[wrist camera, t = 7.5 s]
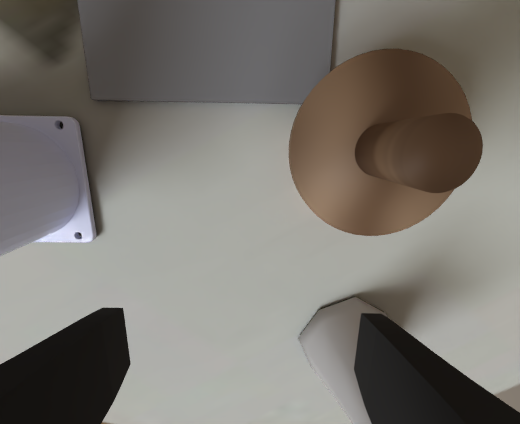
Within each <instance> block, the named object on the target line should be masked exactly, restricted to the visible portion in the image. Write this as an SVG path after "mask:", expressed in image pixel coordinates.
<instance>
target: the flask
mask: <svg viewBox="0 0 520 424" xmlns="http://www.w3.org/2000/svg"><path fill="white" fill-rule="evenodd" d="M361 313H381V314H383V315H384V316H386V317H387V314H386V313H384V312H382V311H380V310H379V309H377V308H375V307H373V306H371V305H369V304H368V303H366V302H364V301H362V300H360V299H358V298H357V297H354V298H351V299H348V300H345V301H343V302H340V303H337V304H334V305H332V306H329V307H326V308H323V309H320V310H318V312H317V313H316V315H315V316H314V317H313V319H312V320H311V321H310V323H309V324H308V325H307V327H306V328H305V329H304V331H303V332H302V333H301V335H300V336H299V338H298V339H299V341H300V343H301V346H302V348H303V350H304V352H305V355H306V357H307V359H308V361H309V363H310V366H311V367H312V369H313V370H314V371H315V373H316V374H317V376H318V377H319V378H320V380H321V381H322V382H323V384H324V385H325V386H326V387H327V389H328V390H329V391H330V393H331V394H332V395H333V397H334V398H335V400H336V401H337V402H338V404H339V405H340V407H341V408H342V410H343V411H344V412H345V414H346V415H347V417H348V418H349V420H350V421H351V423H352V424H372V423H371V421H370V419H369V416H368V413H367V411H366V408H365V406H364V402H363V399H362V396H361V392H360V389H359V386H358V382H357V378H356V375H355V371H354V363H355V356H356V348H357V340H358V333H359V325H360V317H361ZM387 318H388V317H387Z"/></svg>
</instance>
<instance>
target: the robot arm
mask: <svg viewBox="0 0 520 424" xmlns="http://www.w3.org/2000/svg"><path fill="white" fill-rule="evenodd" d="M60 122H62V123H63V125H64V127H63V129H61V128H60V126H59V125H60ZM78 232H80V233H81V234H82V237H80V236H79V235H78ZM95 238H96V228H95V221H94V215H93V208H92V202H91V195H90V189H89V182H88V176H87V169H86V163H85V156H84V150H83V143H82V137H81V130H80V125H79V122H78V121H77V120H76V119H75V118H73V117H67V116H12V115H0V256H2V255H4V254H7V253H9V252H11V251H13V250H16V249H18V248H20V247H22V246H25V245H27V244H29V243H32V242H80V243H88V242H91V241H93V240H94V239H95ZM129 366H130V357H129V349H128V342H127V334H126V327H125V319H124V312H123V308H101V309H99V310H97V311H95V312H93V313H91V314H89V315H88V316H86V317H84V318H82V319H80V320H78V321H77V322H75V323H73V324H71V325H70V326H68V327H66V328H64V329H63V330H61V331H59V332H57V333H56V334H54V335H52V336H50V337H49V338H47V339H45V340H43V341H41V342H40V343H38V344H36V345H34V346H33V347H31V348H29V349H27V350H26V351H24V352H22V353H20V354H19V355H17V356H15V357H13V358H11V359H10V360H8V361H6V362H4V363H2V364H0V424H101V423H102V421H103V419H104V418H105V416H106V414H107V412H108V411H109V409H110V407H111V405H112V403H113V402H114V400H115V397H116V395H117V393H118V391H119V389H120V387H121V385H122V382H123V380H124V378H125V375H126V373H127V371H128V368H129ZM354 371H355V375H356V378H357V382H358V386H359V389H360V392H361V396H362V399H363V402H364V406H365V408H366V411H367V413H368V416H369V419H370V421H371V423H372V424H520V413H519V412H518V411H516V410H515V409H513V408H512V407H510V406H509V405H507V404H506V403H504V402H503V401H501V400H500V399H499V398H497V397H496V396H494V395H493V394H491V393H490V392H488V391H487V390H485V389H484V388H482V387H481V386H480V385H478V384H477V383H475V382H474V381H473V380H471V379H470V378H468V377H467V376H465V375H464V374H463V373H461V372H460V371H459V370H457V369H456V368H454V367H453V366H452V365H450V364H449V363H448V362H446V361H445V360H444V359H442V358H441V357H439V356H438V355H437V354H435V353H434V352H433V351H431V350H430V349H429V348H427V347H426V346H425V345H423V344H422V343H421V342H420V341H418V340H417V339H416V338H414V337H413V336H412V335H410V334H409V333H408V332H406V331H405V330H404V329H402V328H401V327H400V326H398V325H397V324H396V323H394V322H393V321H392V320H390V319H389V318H387V317H386V316H384V315H383V314H381V313H361V317H360V325H359V333H358V340H357V348H356V356H355V363H354Z"/></svg>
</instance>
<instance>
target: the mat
mask: <svg viewBox="0 0 520 424" xmlns="http://www.w3.org/2000/svg"><path fill="white" fill-rule="evenodd" d="M77 1H78V8H79V15H80V23H81V30H82V37H83V44H84V51H85V59H86V66H87V73H88V80H89V87H90V94H91V99H92V100H109V101H163V102H218V103H272V104H303V102H304V100H305V99H306V97H307V96H308V95H309V93H310V92H311V90H312V89H313V88H314V87H315V86H316V85H317V84H318V83H319V82H320V81H321V80H322V79H323V78H324V77H325V76H326V75H327V74H328V73H330V65H331V52H332V39H333V26H334V13H335V0H77Z"/></svg>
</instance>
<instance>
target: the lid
mask: <svg viewBox="0 0 520 424" xmlns="http://www.w3.org/2000/svg"><path fill="white" fill-rule="evenodd" d="M482 148H483V144H482V137H481V134H480V131H479V129H478V127H477V126H476V125H475V123H474V122H473V121H472V117H471V113H470V108H469V105H468V102H467V99H466V96H465V94H464V92H463V90H462V88H461V87H460V85H459V83H458V82H457V81H456V79H455V78H454V77H453V75H452V74H451V73H450V72H449V71H448V70H447V69H445V68H444V67H443V66H442V65H440V64H439V63H438V62H436V61H435V60H433V59H431V58H429V57H427V56H425V55H423V54H420V53H417V52H413V51H409V50H402V49H382V50H375V51H371V52H367V53H364V54H361V55H358V56H356V57H354V58H351V59H349V60H347V61H345V62H344V63H342V64H341V65H339V66H337V67H336V68H335V69H333V70H332V71H331V72H330V73H328V74H327V75H326V76H325V77H324V78H323V79H322V80H321V81H320V82H319V83H318V84H317V85H316V86H315V87H314V88H313V89H312V90H311V92H310V93H309V95H308V96H307V97H306V99H305V100H304V102H303V104H302V105H301V107H300V109H299V111H298V113H297V116H296V118H295V120H294V123H293V127H292V130H291V135H290V141H289V164H290V170H291V174H292V178H293V181H294V183H295V186H296V188H297V190H298V192H299V194H300V196H301V197H302V199H303V200H304V201H305V203H306V204H307V205H308V207H309V208H310V209H311V210H312V211H313V212H314V213H315V214H316V215H317V216H318V217H319V218H321V219H322V220H323V221H325V222H326V223H327V224H329V225H331V226H333V227H335V228H337V229H339V230H342V231H344V232H348V233H352V234H356V235H364V236H378V235H385V234H391V233H394V232H398V231H401V230H404V229H406V228H409V227H411V226H413V225H415V224H417V223H419V222H420V221H422V220H423V219H425V218H426V217H428V216H429V215H431V214H432V213H433V212H434V211H435V210H436V209H438V208H439V207H440V206H441V205H442V204H443V203H444V202H445V200H446V199H447V198H448V197H449V196H450V194H451V193H452V192H453V190H454V189H455V188H457V187H459V186H460V185H462V184H463V183H464V182H465V181H467V180H468V179H469V178H470V177H471V175H472V174H473V173H474V171H475V170H476V168H477V166H478V164H479V162H480V159H481V155H482Z"/></svg>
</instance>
